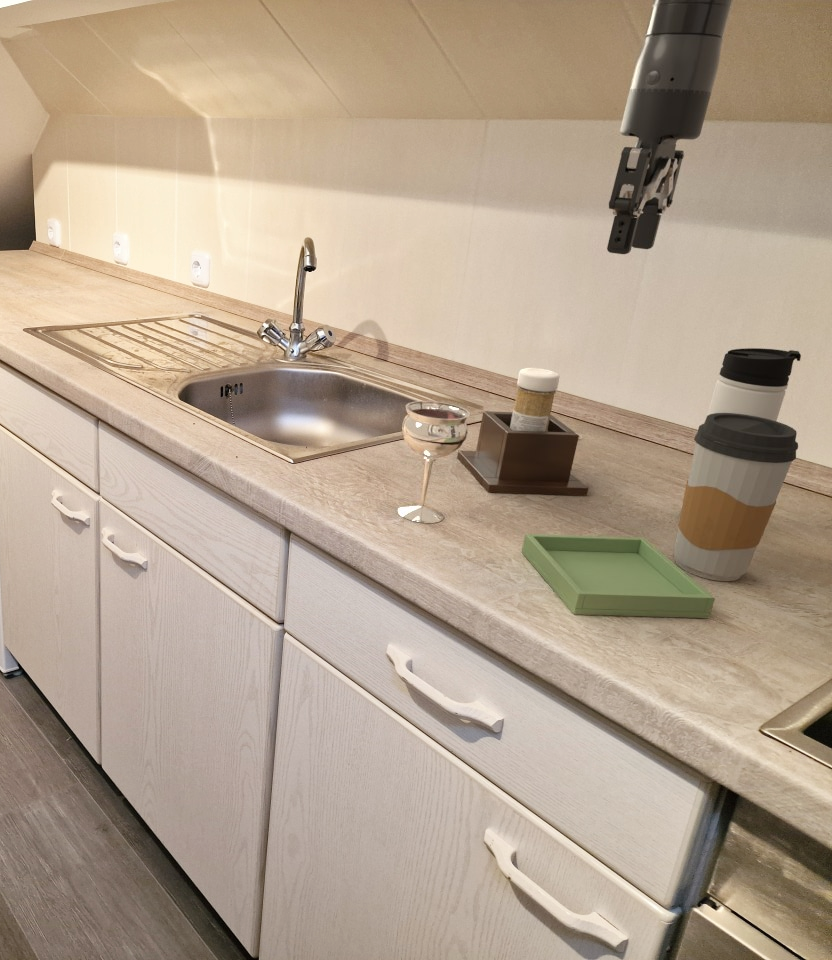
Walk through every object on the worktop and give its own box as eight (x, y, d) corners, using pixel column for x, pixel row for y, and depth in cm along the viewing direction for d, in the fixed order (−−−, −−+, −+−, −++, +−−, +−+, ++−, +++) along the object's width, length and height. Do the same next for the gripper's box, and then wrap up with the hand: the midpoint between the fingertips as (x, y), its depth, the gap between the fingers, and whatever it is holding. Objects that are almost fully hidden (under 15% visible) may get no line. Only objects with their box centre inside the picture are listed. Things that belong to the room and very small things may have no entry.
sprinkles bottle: (541, 474, 108) (563, 370, 103) (534, 485, 104) (556, 378, 99) (503, 466, 110) (523, 364, 105) (496, 476, 106) (516, 371, 101)
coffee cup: (771, 574, 84) (819, 430, 79) (732, 595, 80) (780, 444, 74) (686, 542, 90) (725, 406, 85) (645, 560, 86) (683, 418, 80)
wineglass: (378, 503, 96) (393, 401, 92) (431, 499, 98) (448, 399, 94) (409, 528, 90) (425, 421, 86) (464, 524, 92) (483, 418, 88)
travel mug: (746, 540, 91) (804, 358, 84) (677, 525, 94) (728, 348, 87) (744, 521, 97) (799, 347, 89) (679, 507, 100) (727, 338, 92)
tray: (639, 556, 87) (644, 537, 86) (708, 618, 75) (715, 597, 75) (521, 552, 86) (525, 533, 86) (573, 614, 75) (578, 593, 74)
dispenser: (546, 460, 113) (557, 410, 110) (587, 495, 102) (600, 440, 99) (456, 457, 112) (465, 406, 110) (488, 492, 101) (498, 436, 99)
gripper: (693, 83, 79) (648, 260, 86) (727, 93, 89) (684, 251, 96) (610, 82, 84) (572, 250, 90) (650, 91, 94) (614, 242, 100)
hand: (629, 250), depth 93 cm, fingers open, 8 cm apart
